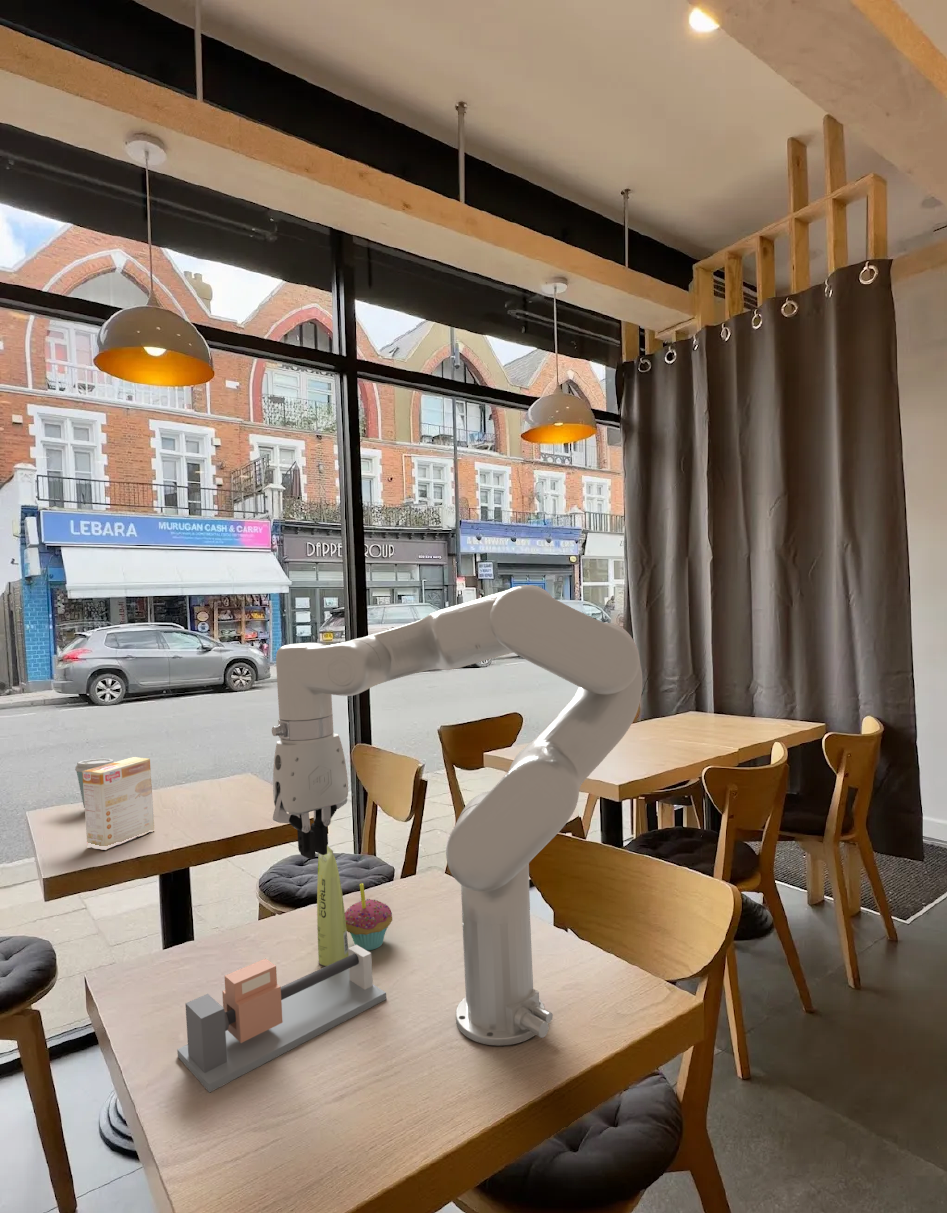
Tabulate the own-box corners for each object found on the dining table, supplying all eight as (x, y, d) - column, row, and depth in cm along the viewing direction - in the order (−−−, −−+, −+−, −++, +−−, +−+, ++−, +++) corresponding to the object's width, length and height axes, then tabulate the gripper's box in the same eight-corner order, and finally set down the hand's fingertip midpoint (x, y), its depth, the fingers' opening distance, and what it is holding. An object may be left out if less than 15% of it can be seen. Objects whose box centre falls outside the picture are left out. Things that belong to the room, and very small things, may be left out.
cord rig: (348, 975, 115) (346, 925, 115) (386, 999, 108) (383, 946, 107) (177, 1056, 96) (174, 997, 96) (209, 1092, 89) (205, 1029, 89)
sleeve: (265, 1008, 102) (262, 956, 102) (282, 1022, 99) (279, 968, 99) (224, 1027, 98) (221, 973, 98) (241, 1043, 95) (237, 986, 94)
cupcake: (384, 958, 120) (380, 886, 119) (335, 955, 121) (332, 884, 121) (399, 933, 128) (396, 866, 128) (353, 930, 130) (350, 864, 129)
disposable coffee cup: (93, 805, 218) (90, 755, 217) (126, 804, 216) (123, 755, 216) (69, 816, 207) (66, 764, 207) (104, 816, 206) (100, 764, 205)
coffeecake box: (137, 829, 193) (132, 756, 193) (155, 831, 190) (151, 758, 190) (85, 848, 180) (80, 770, 179) (105, 851, 177) (100, 772, 176)
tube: (309, 964, 119) (302, 847, 118) (326, 949, 123) (320, 836, 123) (338, 970, 117) (332, 850, 116) (355, 954, 121) (349, 839, 121)
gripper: (269, 742, 97) (277, 878, 97) (366, 722, 107) (372, 845, 108) (244, 735, 102) (251, 864, 103) (338, 717, 113) (344, 834, 113)
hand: (313, 854), depth 105 cm, fingers closed
